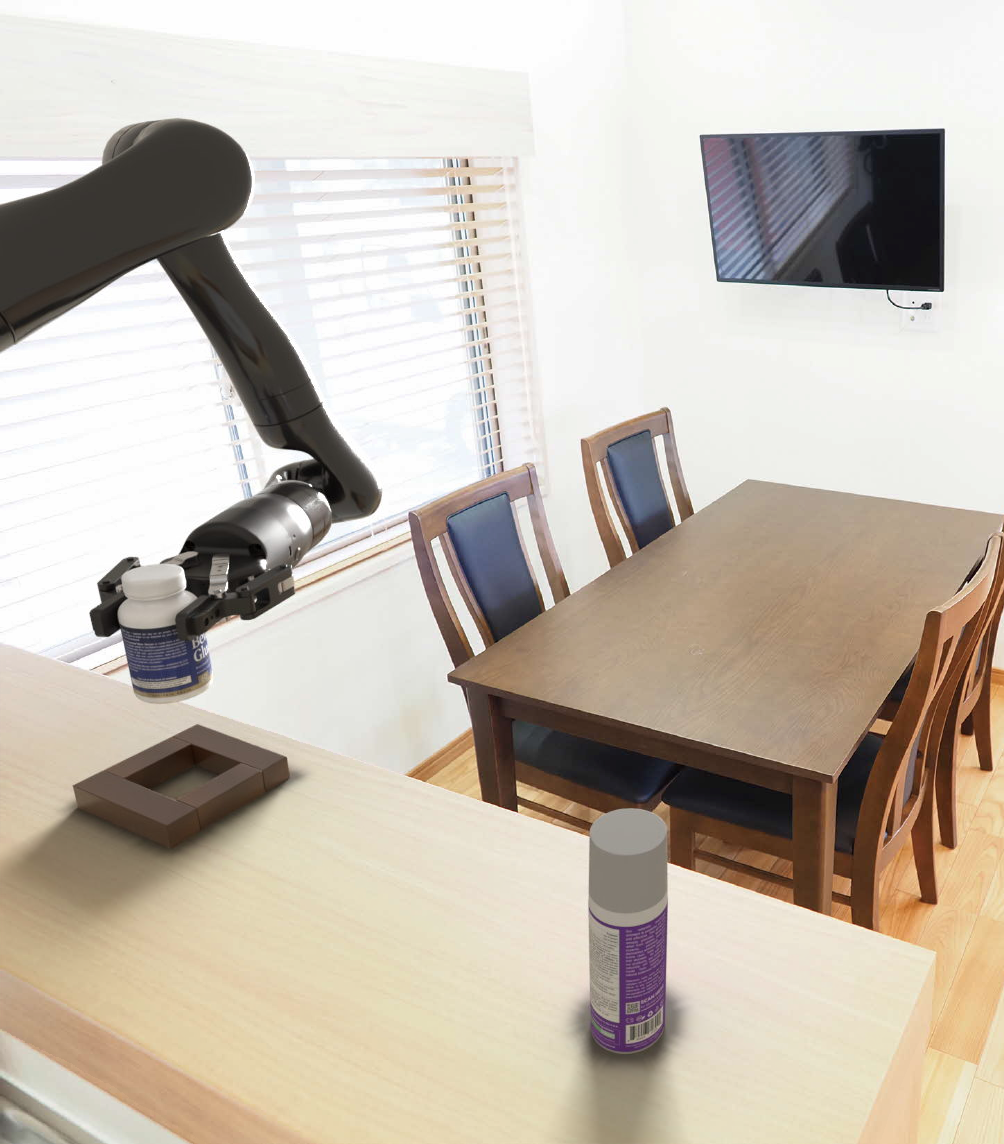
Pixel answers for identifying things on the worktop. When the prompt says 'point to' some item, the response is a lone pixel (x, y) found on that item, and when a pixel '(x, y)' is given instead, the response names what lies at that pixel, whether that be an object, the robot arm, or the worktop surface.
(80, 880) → the worktop surface
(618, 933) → the container
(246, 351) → the robot arm
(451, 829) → the worktop surface
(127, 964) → the worktop surface
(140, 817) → the frame
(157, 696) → the pill bottle
